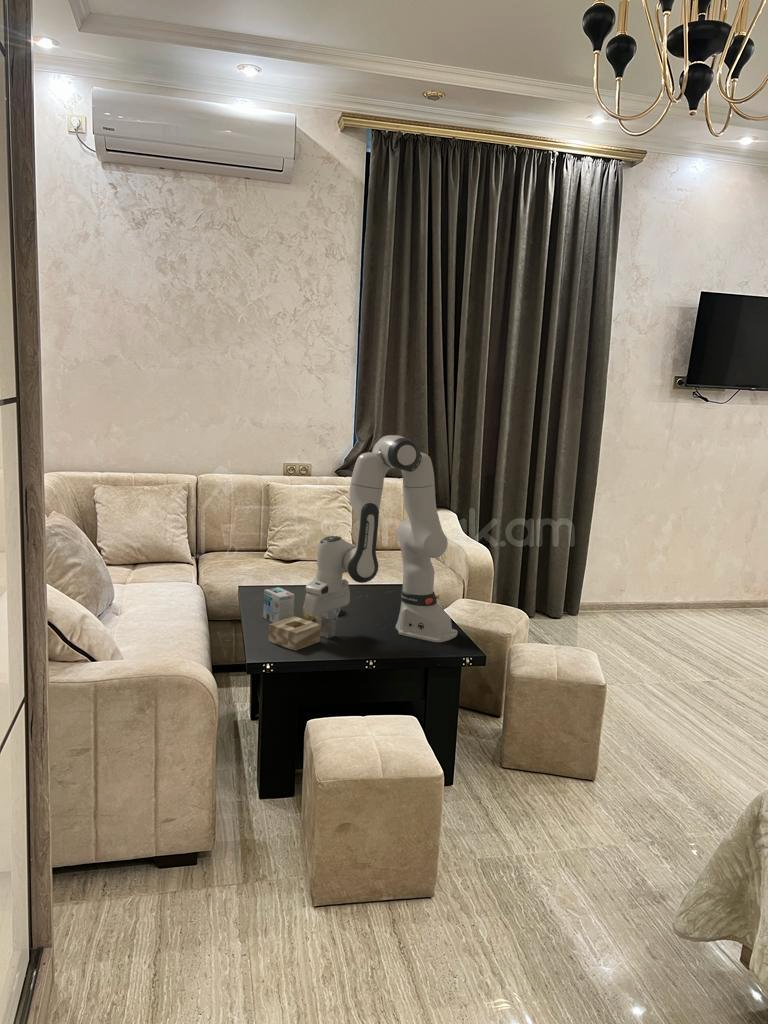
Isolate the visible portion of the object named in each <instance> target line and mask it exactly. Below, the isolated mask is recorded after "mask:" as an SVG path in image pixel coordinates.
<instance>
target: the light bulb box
mask: <svg viewBox="0 0 768 1024" xmlns="http://www.w3.org/2000/svg"><path fill="white" fill-rule="evenodd" d="M295 596H296V595H295V593H293V592H290V591H289V590H286V589H284V588H282V587H273V588H267V589H264V590H263V618H264V619H265V620H267V621H269V622H271V624H272V623H275V622H278V621H281V620H284V619H287V618H290V617H293V616H295V615H294V612H295V611H294V610H295Z"/></svg>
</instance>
